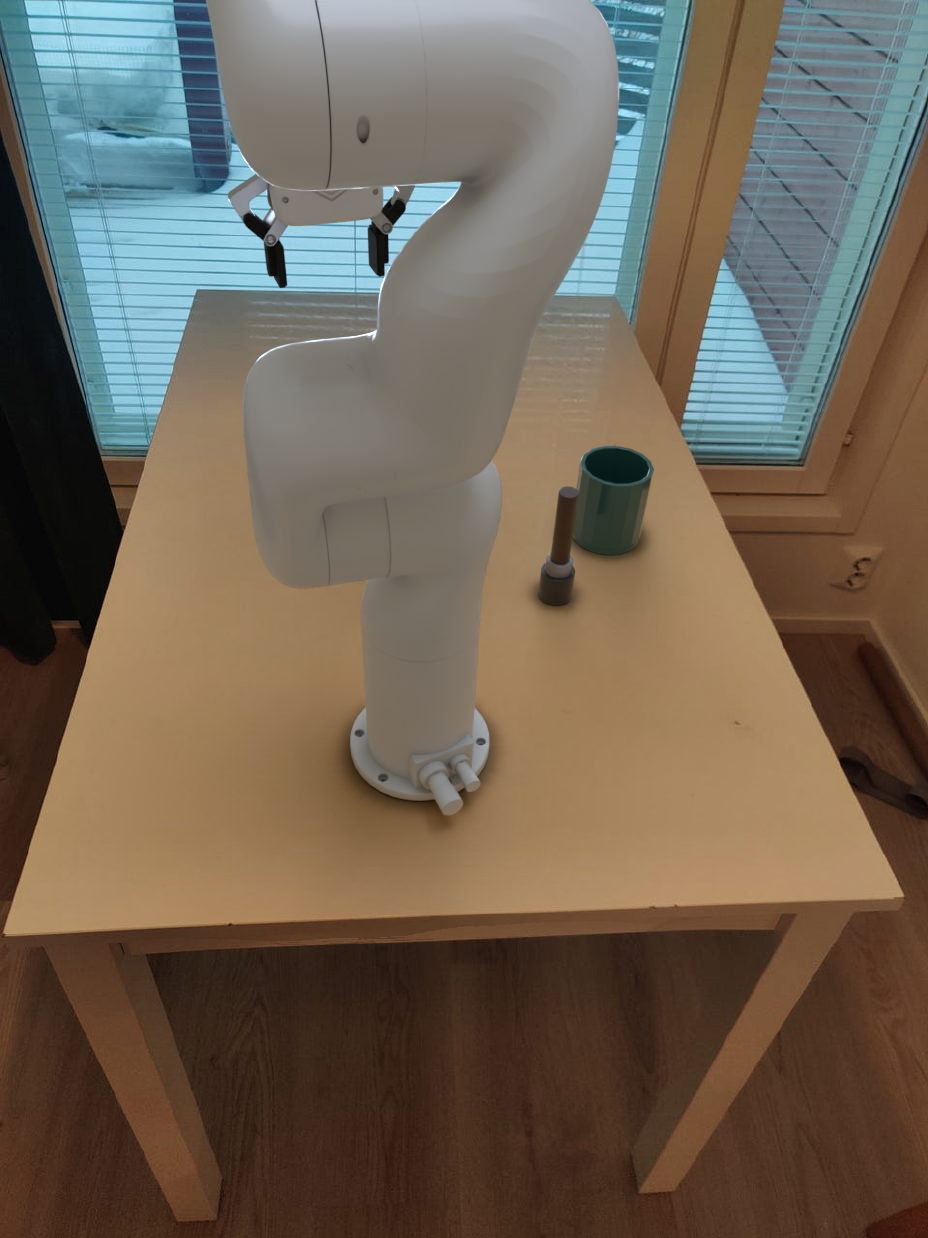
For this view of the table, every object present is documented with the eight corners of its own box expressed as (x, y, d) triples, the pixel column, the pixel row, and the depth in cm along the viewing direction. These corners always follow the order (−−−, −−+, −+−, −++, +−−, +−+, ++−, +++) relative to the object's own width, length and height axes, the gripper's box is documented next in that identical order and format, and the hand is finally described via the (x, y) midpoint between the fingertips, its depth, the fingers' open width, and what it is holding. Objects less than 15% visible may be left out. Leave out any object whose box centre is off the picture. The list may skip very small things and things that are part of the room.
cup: (652, 544, 108) (667, 475, 102) (594, 562, 105) (606, 492, 99) (614, 507, 113) (626, 439, 107) (558, 523, 110) (567, 454, 104)
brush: (578, 595, 101) (594, 492, 92) (557, 610, 99) (571, 507, 90) (552, 579, 103) (566, 477, 94) (531, 594, 101) (543, 491, 92)
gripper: (221, 94, 74) (248, 302, 86) (426, 83, 79) (425, 281, 91) (206, 72, 79) (232, 272, 91) (399, 63, 84) (401, 253, 96)
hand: (329, 276), depth 91 cm, fingers open, 9 cm apart
